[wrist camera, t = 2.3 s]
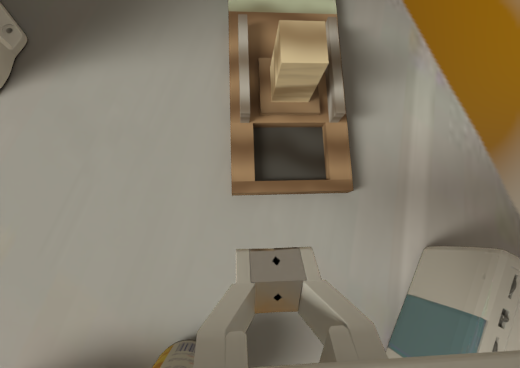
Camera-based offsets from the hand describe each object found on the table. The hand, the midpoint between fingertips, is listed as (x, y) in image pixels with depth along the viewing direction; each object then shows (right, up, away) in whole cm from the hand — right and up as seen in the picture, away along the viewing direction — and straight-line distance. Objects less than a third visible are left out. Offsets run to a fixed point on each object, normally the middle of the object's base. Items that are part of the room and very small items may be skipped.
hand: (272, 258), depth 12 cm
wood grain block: (+3, +16, +29) cm, 34 cm away
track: (+3, +20, +32) cm, 38 cm away
